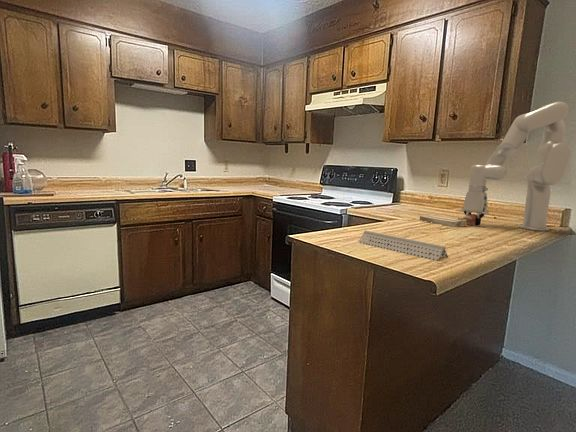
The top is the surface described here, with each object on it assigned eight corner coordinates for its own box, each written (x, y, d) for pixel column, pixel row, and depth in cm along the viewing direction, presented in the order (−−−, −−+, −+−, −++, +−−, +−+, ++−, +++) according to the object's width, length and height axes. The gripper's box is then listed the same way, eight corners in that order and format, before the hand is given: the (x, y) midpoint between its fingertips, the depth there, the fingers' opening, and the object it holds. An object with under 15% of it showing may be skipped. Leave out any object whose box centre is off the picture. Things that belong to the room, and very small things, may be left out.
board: (431, 219, 197) (431, 215, 197) (465, 225, 180) (465, 220, 180) (419, 220, 192) (420, 216, 191) (453, 226, 175) (454, 221, 175)
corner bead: (356, 244, 133) (357, 231, 133) (370, 241, 139) (371, 229, 138) (436, 263, 110) (437, 248, 110) (449, 259, 116) (450, 244, 115)
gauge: (471, 224, 185) (473, 214, 184) (479, 225, 182) (480, 215, 181) (454, 226, 177) (455, 215, 176) (462, 227, 174) (463, 216, 173)
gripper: (497, 190, 174) (493, 227, 177) (465, 188, 188) (461, 222, 191) (489, 191, 170) (485, 228, 173) (457, 188, 184) (453, 222, 187)
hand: (472, 224), depth 182 cm, fingers closed on gauge, 4 cm apart
